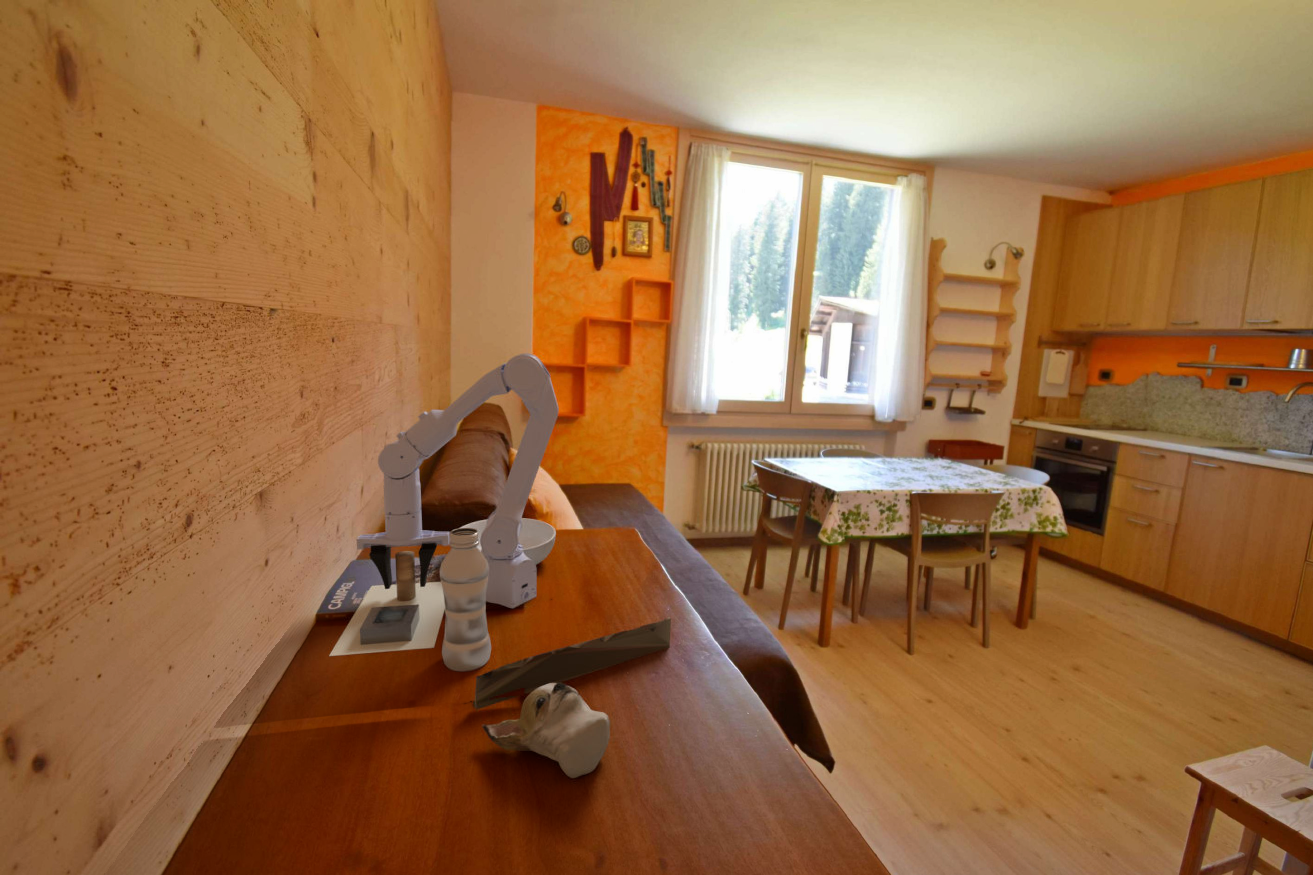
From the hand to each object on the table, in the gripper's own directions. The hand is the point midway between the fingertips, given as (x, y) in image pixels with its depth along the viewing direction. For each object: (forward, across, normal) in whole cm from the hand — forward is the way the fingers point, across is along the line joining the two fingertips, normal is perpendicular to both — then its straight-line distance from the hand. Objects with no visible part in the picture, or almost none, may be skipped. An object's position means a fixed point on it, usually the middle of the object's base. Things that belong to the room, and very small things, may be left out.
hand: (406, 585), depth 99 cm
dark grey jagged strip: (+4, -28, +27) cm, 39 cm away
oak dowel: (+2, 0, 0) cm, 2 cm away
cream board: (+3, 0, +6) cm, 7 cm away
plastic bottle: (+3, -12, +22) cm, 26 cm away
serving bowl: (+3, -16, -16) cm, 23 cm away
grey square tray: (+2, 0, +12) cm, 12 cm away
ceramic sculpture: (+4, -24, +42) cm, 48 cm away
